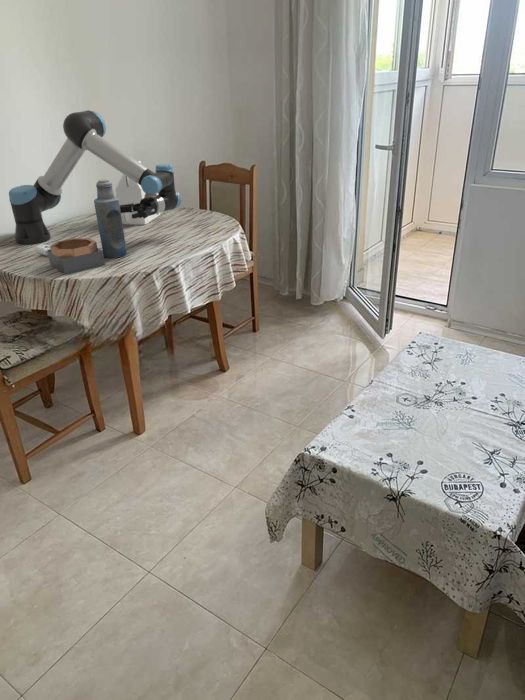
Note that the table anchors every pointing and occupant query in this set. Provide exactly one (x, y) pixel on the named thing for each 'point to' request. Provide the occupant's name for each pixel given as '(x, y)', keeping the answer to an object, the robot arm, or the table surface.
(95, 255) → the copper and grey block
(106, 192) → the bottle
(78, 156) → the robot arm
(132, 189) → the gable box
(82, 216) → the table surface
